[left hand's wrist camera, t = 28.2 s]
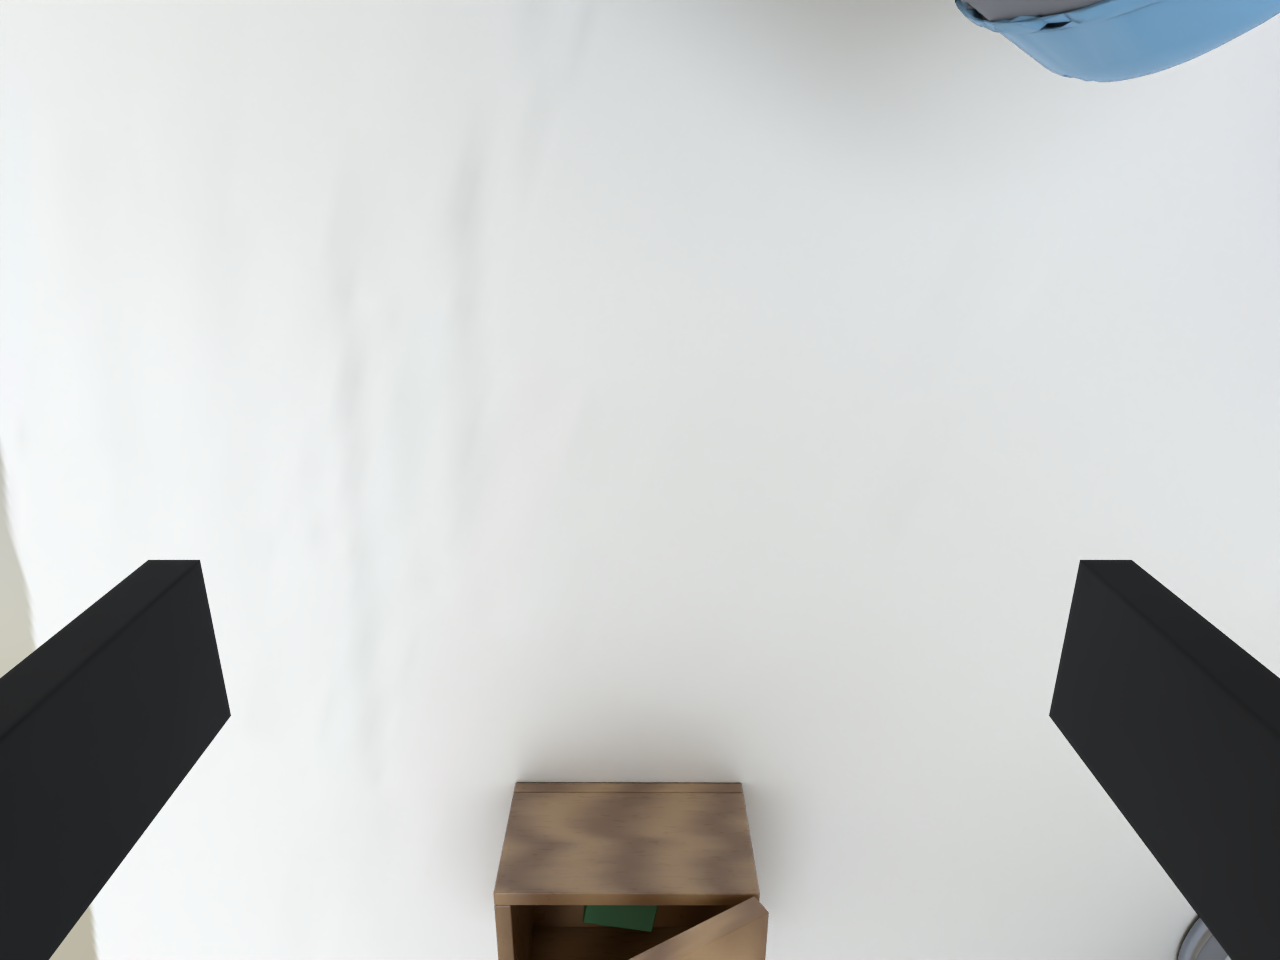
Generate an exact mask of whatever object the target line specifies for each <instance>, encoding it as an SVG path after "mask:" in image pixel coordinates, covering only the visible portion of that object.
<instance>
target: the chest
mask: <svg viewBox="0 0 1280 960" xmlns="http://www.w3.org/2000/svg"><path fill="white" fill-rule="evenodd" d="M759 896H760V892H759V886H758V880H757V874H756V868H755V862H754V856H753V850H752V844H751V838H750V832H749V826H748V820H747V814H746V808H745V802H744V796H743V790H742V785H741V783H516V784H515V789H514V794H513V799H512V804H511V809H510V814H509V819H508V824H507V829H506V834H505V839H504V844H503V849H502V854H501V859H500V864H499V869H498V874H497V879H496V884H495V889H494V904H495V919H496V933H497V946H498V960H629V959H631V958H633V957H635V956H637V955H639V954H641V953H643V952H645V951H647V950H649V949H651V948H653V947H655V946H657V945H659V944H660V943H662V942H664V941H666V940H668V939H670V938H672V937H674V936H676V935H678V934H680V933H682V932H684V931H686V930H688V929H690V928H692V927H694V926H696V925H698V924H700V923H702V922H704V921H706V920H708V919H710V918H712V917H714V916H716V915H718V914H720V913H722V912H724V911H726V910H728V909H730V908H732V907H734V906H736V905H738V904H740V903H742V902H744V901H746V900H748V899H750V898H752V897H755V898H756V899H757V900H758V901H759ZM584 905H658V909H657V913H656V917H655V921H654V925H653V929H652V932H648V931H641V930H633V929H626V928H619V927H612V926H604V925H597V924H590V923H584V922H583V913H584Z"/></svg>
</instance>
